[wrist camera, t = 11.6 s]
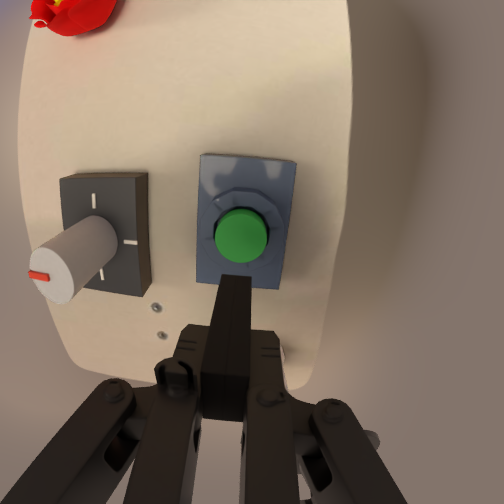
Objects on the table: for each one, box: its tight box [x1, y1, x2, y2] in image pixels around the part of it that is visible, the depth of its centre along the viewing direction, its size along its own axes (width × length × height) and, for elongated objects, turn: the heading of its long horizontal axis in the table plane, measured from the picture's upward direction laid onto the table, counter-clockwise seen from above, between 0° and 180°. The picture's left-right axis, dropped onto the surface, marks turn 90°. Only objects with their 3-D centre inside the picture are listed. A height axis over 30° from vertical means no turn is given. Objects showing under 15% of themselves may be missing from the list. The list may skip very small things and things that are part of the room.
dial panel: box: [60, 173, 152, 297], centre depth 25 cm, size 12×9×3 cm
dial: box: [28, 215, 118, 304], centre depth 20 cm, size 5×5×8 cm
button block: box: [196, 154, 297, 290], centre depth 24 cm, size 12×8×4 cm, turn 175°
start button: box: [215, 209, 267, 263], centre depth 22 cm, size 4×4×2 cm
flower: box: [29, 0, 117, 36], centre depth 13 cm, size 8×8×8 cm
